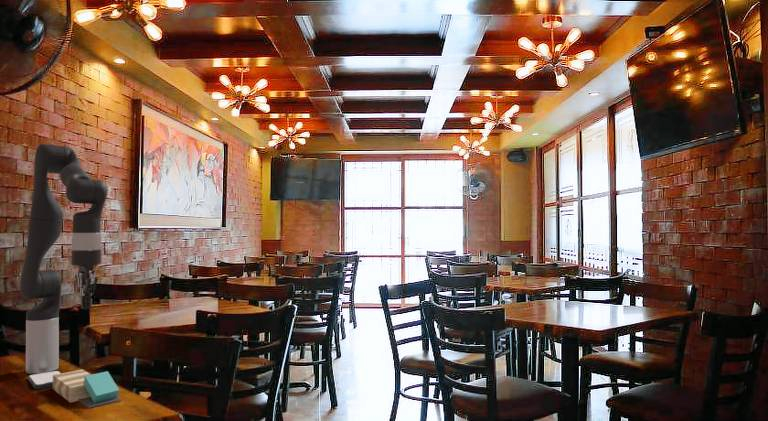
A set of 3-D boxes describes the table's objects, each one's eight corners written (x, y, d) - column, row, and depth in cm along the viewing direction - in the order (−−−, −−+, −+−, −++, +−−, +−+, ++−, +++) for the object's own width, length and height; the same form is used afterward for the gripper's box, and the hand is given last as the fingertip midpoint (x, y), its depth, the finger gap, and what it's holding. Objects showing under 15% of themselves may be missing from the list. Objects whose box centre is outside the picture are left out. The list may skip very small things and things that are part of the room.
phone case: (26, 380, 168) (34, 391, 155) (26, 375, 168) (34, 385, 156) (59, 375, 173) (69, 384, 161) (59, 370, 173) (69, 379, 161)
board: (52, 388, 156) (52, 375, 156) (82, 382, 162) (82, 369, 162) (70, 402, 144) (70, 387, 144) (102, 395, 149) (102, 381, 149)
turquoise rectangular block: (83, 383, 146) (85, 376, 145) (105, 378, 151) (107, 371, 150) (94, 403, 142) (96, 395, 141) (117, 397, 146) (119, 390, 146)
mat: (78, 400, 145) (78, 399, 145) (109, 393, 151) (109, 392, 151) (88, 408, 139) (88, 407, 139) (121, 401, 144) (121, 399, 144)
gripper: (65, 248, 155) (64, 307, 155) (78, 249, 146) (78, 313, 146) (93, 247, 161) (93, 304, 160) (108, 248, 151) (107, 309, 151)
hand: (85, 308), depth 153 cm, fingers closed
